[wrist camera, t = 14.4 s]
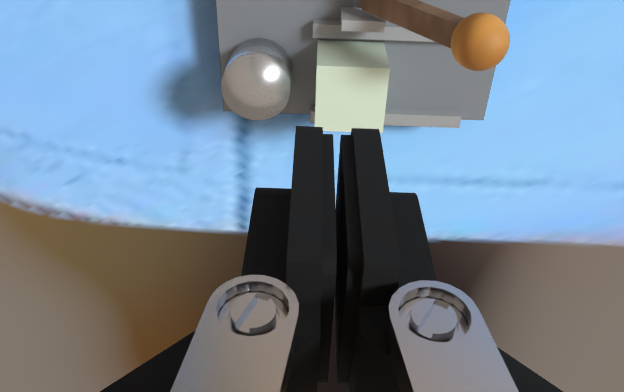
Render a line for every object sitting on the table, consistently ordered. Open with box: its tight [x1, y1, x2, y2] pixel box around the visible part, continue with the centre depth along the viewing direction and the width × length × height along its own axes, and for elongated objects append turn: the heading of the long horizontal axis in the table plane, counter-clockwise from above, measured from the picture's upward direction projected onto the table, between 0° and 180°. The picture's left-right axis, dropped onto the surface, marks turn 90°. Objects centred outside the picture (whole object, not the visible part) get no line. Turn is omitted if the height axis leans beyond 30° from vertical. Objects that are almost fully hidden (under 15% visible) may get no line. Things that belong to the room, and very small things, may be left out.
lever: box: [355, 0, 510, 71], centre depth 29 cm, size 3×3×10 cm
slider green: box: [315, 40, 390, 133], centre depth 34 cm, size 4×4×4 cm
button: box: [221, 38, 293, 120], centre depth 34 cm, size 4×4×3 cm
